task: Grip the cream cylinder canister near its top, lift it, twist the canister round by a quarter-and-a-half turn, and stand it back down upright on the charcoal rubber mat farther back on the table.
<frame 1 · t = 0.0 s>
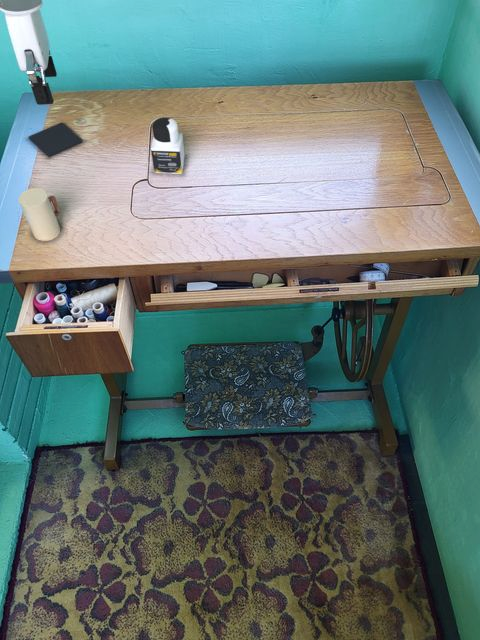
hand: (47, 89, 106), 26 cm above the table, tool pointing down, fingers open, 9 cm apart
medicine bottle: (169, 165, 135), on the table
cream cylinder canister: (47, 231, 121), on the table
rubber mat: (55, 140, 139), on the table
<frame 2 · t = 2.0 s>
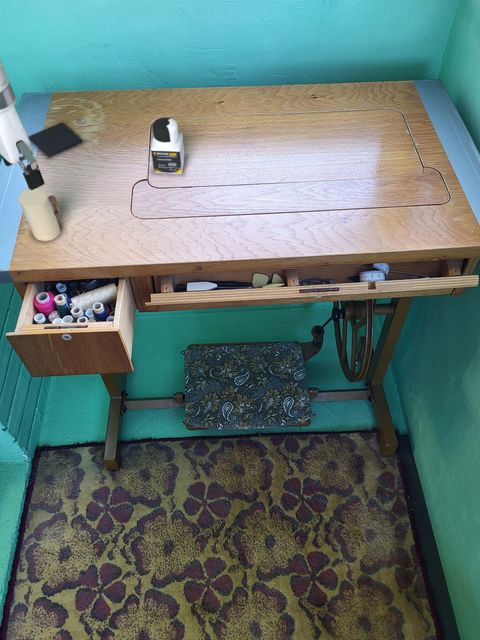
hand: (25, 174, 107), 16 cm above the table, tool pointing down, fingers open, 9 cm apart
nothing on the table moved.
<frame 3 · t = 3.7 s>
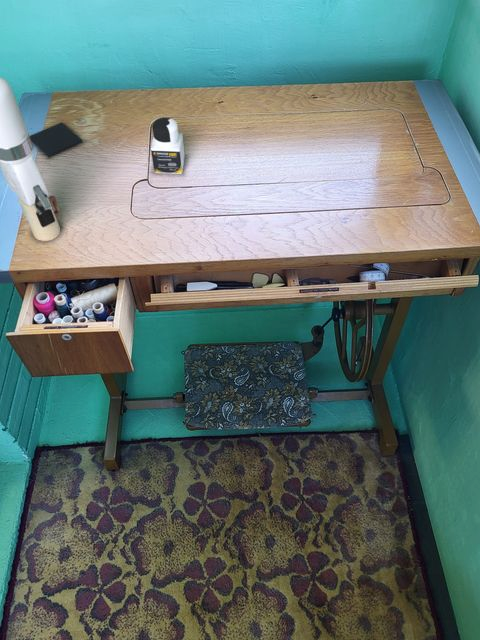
hand: (40, 215, 116), 5 cm above the table, tool pointing down, fingers closed on cream cylinder canister, 6 cm apart
cream cylinder canister: (47, 231, 121), on the table, touching gripper
everything else where it was.
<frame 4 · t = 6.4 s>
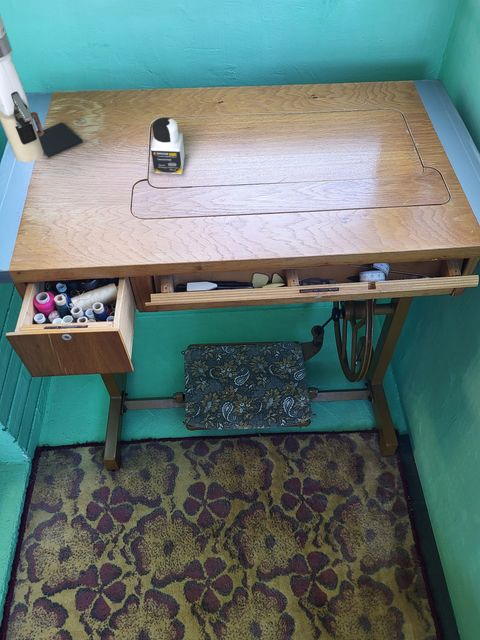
hand: (21, 132, 109), 19 cm above the table, tool pointing down, fingers closed on cream cylinder canister, 6 cm apart
cream cylinder canister: (29, 153, 113), point 14 cm above the table, touching gripper
everything else where it was.
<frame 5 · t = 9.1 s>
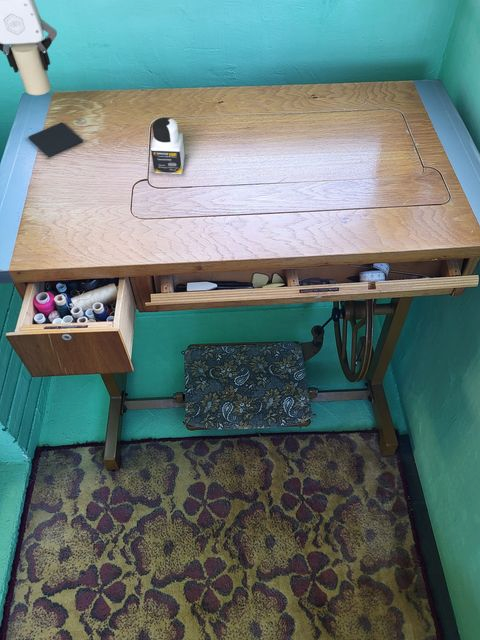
hand: (31, 67, 122), 19 cm above the table, tool pointing down, fingers closed on cream cylinder canister, 6 cm apart
cream cylinder canister: (38, 88, 127), point 14 cm above the table, touching gripper
everything else where it was.
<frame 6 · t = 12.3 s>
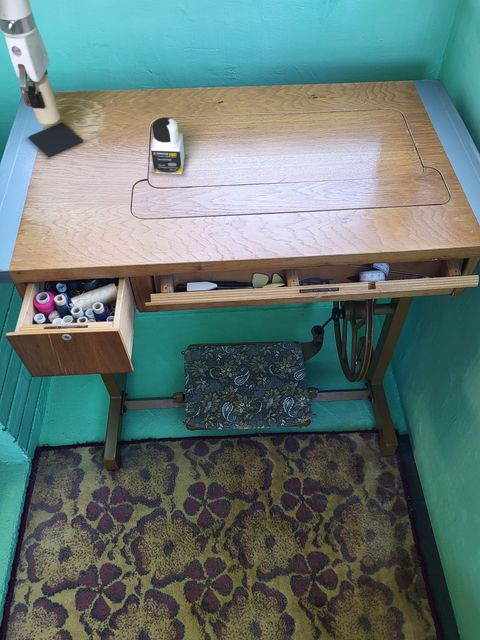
hand: (42, 98, 129), 12 cm above the table, tool pointing down, fingers closed on cream cylinder canister, 6 cm apart
cream cylinder canister: (48, 117, 133), point 7 cm above the table, touching gripper
everything else where it was.
when the fingers open (6 cm above the table, at t = 14.5 s): cream cylinder canister stays where it is, resting on rubber mat.
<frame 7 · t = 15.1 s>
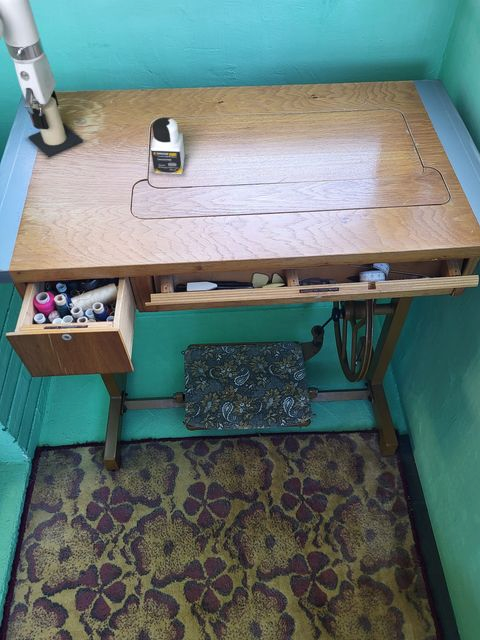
hand: (47, 116, 133), 7 cm above the table, tool pointing down, fingers open, 9 cm apart
cream cylinder canister: (54, 138, 138), point 1 cm above the table, touching rubber mat
everything else where it was.
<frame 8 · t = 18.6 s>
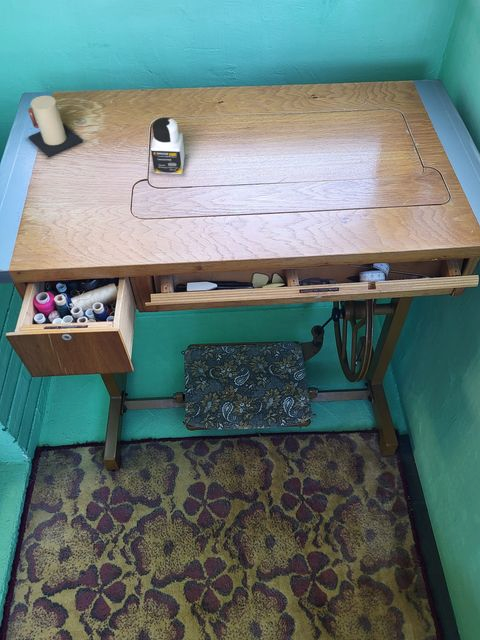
nothing on the table moved.
at the end: cream cylinder canister inside the target area on the rubber mat (0.0 cm from its centre), point 0.8 cm above the rubber mat's base; cream cylinder canister tilted 0°; the gripper is holding nothing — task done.
